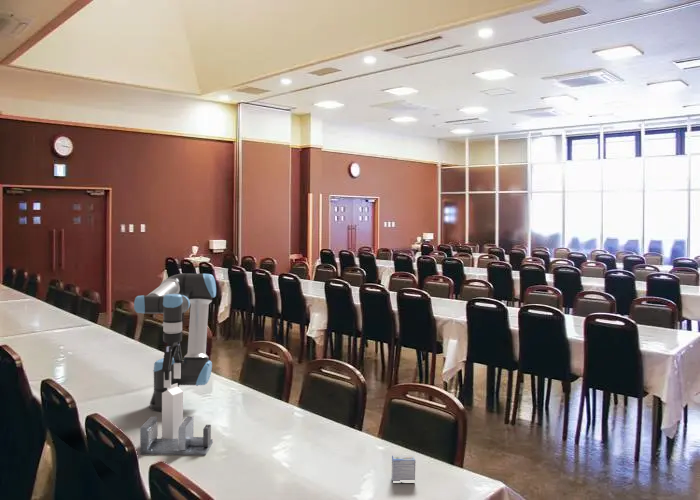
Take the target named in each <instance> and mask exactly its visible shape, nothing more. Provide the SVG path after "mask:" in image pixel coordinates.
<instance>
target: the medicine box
mask: <svg viewBox="0 0 700 500" xmlns="http://www.w3.org/2000/svg"><path fill="white" fill-rule="evenodd" d="M416 462H417V461H416V458H415V455H414V454H392V455H391V480H393V481H400V480H415V481H416Z"/></svg>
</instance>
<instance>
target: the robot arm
mask: <svg viewBox="0 0 700 500" xmlns="http://www.w3.org/2000/svg"><path fill="white" fill-rule="evenodd" d="M216 296H217V285H216V279H215V277H214V275H213V274H210V273H183V272H182V273H178V274H174V275H171V276H169V277H167V278H165V279H164V280H163V281H162V282H161V283H160V285H159V286H158V287H156V288H155V289H154V290H152V291H151V292H150V293H148V294H147V295H144V294H143V295H137V296H136V297H135V298H134V302H133V304H134V305H133V307H134V308H133V310H134V311H135V313H137V314H161V315H162V316H163V317H162V319H163V321H162V324H161V326H162V327H163V329H162V330H163V334H162V342H164V343H167V346H164V351H163V352H164V354H163V357H162V358H160V359H158V360H156V361H154V363H153V370H152V372H153V393H152V395H151V399H150V401H149V409H150V410H152V411H156V412H162V393H163V392H165V391H166V390H167V388H171V385H173V384H176V383H178V387H179V388H180V386H196V387H198V386H205V385H207V384H208V383H209V381H210V378H211V374H212V369H213V362H212V361H211V360H210V359H209V356H208V355H207V353H206V352H207V338H208V321H209V320H208V319H209V305H210V304H211V303H212V302H213V298H215V297H216ZM189 308H190V309H189ZM188 310H190V311H189V327H188V340H187V353H186V354H185V355H184V357H183V356H182V355H183V354H182V349H181V342H182V341H183V332H182V331H183V314H184V313H186V312H187V311H188Z"/></svg>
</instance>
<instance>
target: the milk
mask: <svg viewBox="0 0 700 500" xmlns="http://www.w3.org/2000/svg"><path fill="white" fill-rule="evenodd" d="M183 421H184V391H183V390H182V389H181V388H180V386H179V387H178V383H176V384H173V385H171V388H167V390H166V391H165V392H163V393H162V411H161V439H178V430H179V426H180V425H181V424H182V423H183Z"/></svg>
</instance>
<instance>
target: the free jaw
mask: <svg viewBox="0 0 700 500" xmlns="http://www.w3.org/2000/svg"><path fill="white" fill-rule="evenodd" d="M211 426H212V425H211V424H205V426H204V427H203V430H202V431H203V435H202V436H194V416H191V415H190V416H186V418H185V419H183V423H182V424H181V425H180V426H179V430H178V438H177V439H178V445H179V450H186V449H187V447H188V446H189V445H200V446H203V447H208V446H209V444H210V442H211V439H212V436H211V435H212V429H211V428H212V427H211Z"/></svg>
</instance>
